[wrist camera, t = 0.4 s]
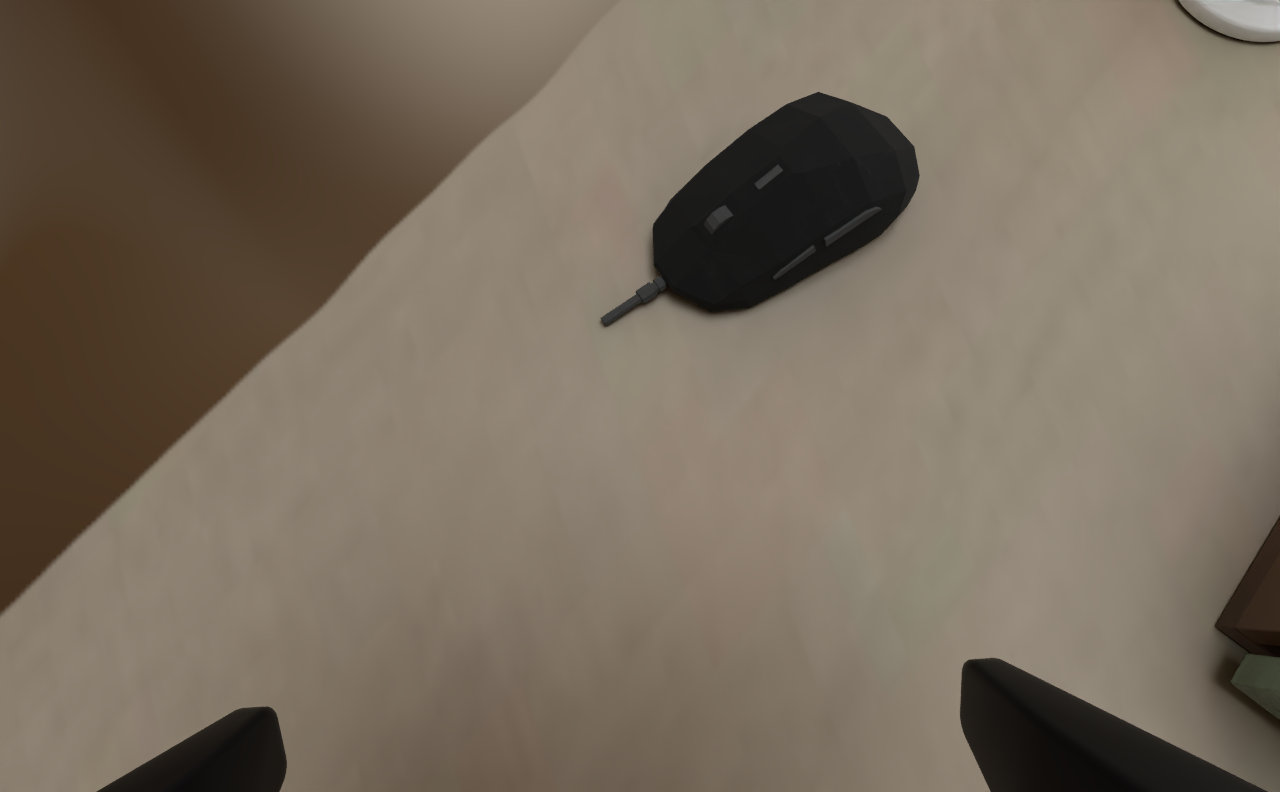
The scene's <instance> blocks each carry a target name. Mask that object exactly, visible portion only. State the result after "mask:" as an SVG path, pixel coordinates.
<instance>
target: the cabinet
mask: <svg viewBox="0 0 1280 792" xmlns="http://www.w3.org/2000/svg"><path fill="white" fill-rule="evenodd" d="M1216 627H1217V628H1218V629H1220V630H1221V631H1223V632H1224V633H1225V634H1227V635H1228V636H1229V637H1231V638H1232V639H1233V640H1235V641H1236V642H1237V643H1239V644H1240V645H1241V646H1243V647H1244V648H1245V649H1247V650H1248V651H1250V652H1251V653H1252V654H1255V655H1263V656H1272V657H1280V519H1279V521H1278V522H1277V524H1276V526H1275V527H1274V529H1273V531H1272V532H1271V534H1270V536H1269V537H1268V539H1267V541H1266V542H1265V544H1264V546H1263V547H1262V549H1261V551H1260V552H1259V554H1258V556H1257V557H1256V559H1255V561H1254V562H1253V564H1252V566H1251V567H1250V569H1249V571H1248V572H1247V574H1246V576H1245V577H1244V579H1243V581H1242V582H1241V584H1240V586H1239V587H1238V589H1237V591H1236V592H1235V594H1234V596H1233V598H1232V599H1231V601H1230V603H1229V604H1228V606H1227V608H1226V609H1225V611H1224V613H1223V614H1222V616H1221V618H1220V619H1219V621H1218V623H1217V624H1216Z"/></svg>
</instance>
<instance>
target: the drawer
mask: <svg viewBox="0 0 1280 792" xmlns="http://www.w3.org/2000/svg"><path fill="white" fill-rule="evenodd" d="M1231 684H1233V685H1234V686H1235V687H1237V688H1238V689H1239V690H1241V691H1242V692H1243V693H1245V694H1246V695H1247V696H1249V697H1250V698H1251V699H1252V700H1254V701H1255V702H1256V703H1258V704H1259V705H1260V706H1262V707H1263V708H1264V709H1266V710H1267V711H1268V712H1270V713H1271V714H1272V715H1274V716H1275V717H1276V718H1278V719H1279V720H1280V657H1272V656H1263V655H1255V654H1246V656H1245V657H1244V659H1243V661H1242V663H1241V664H1240V666H1239V668H1238V669H1237V671H1236V673H1235V675H1234V676H1233V678H1232V680H1231Z"/></svg>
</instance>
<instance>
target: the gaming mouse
mask: <svg viewBox="0 0 1280 792" xmlns="http://www.w3.org/2000/svg"><path fill="white" fill-rule="evenodd" d="M918 180H919V170H918V165H917V159H916V154H915V148H914V146H913V145H912V144H911V143H910V141H909V140H908V139H907V138H906V137H905V136H904V135H903V134H902V133H901V132H900V130H899V129H898V128H897V127H896V126H895V125H894V124H893V123H892V122H891V121H890V119H889V118H888V117H886V116H884V115H881V114H879V113H876V112H874V111H871V110H869V109H866V108H864V107H861V106H859V105H856V104H854V103H851V102H848V101H845V100H842V99H839V98H836V97H833V96H829V95H826V94H823V93H820V92H817V93H814V94H812V95H809V96H806V97H804V98H801V99H799V100H796V101H794V102H791V103H788V104H786V105H785V106H783V107H782V108H780V109H779V110H777V111H776V112H774V113H773V114H771V115H770V116H768V117H767V118H765V119H764V120H762V121H761V122H759V123H758V124H756V125H755V126H753V127H752V128H750V129H749V130H748V131H746V132H745V133H744V134H743V135H741V136H740V137H739V138H738V139H737V140H735V141H734V142H733V143H732V144H731V145H729V146H728V147H727V148H726V149H725V150H723V151H722V152H721V153H720V154H718V155H717V156H716V157H715V158H714V159H712V160H711V161H710V162H709V163H708V164H706V165H705V166H704V167H703V168H702V169H701V170H700V171H699V172H698V173H697V174H696V175H695V176H694V177H693V178H692V179H691V180H690V181H689V182H688V183H687V184H686V185H685V186H684V187H683V188H682V189H681V190H680V191H679V192H678V193H677V194H676V195H675V196H674V197H673V198H672V199H671V200H670V201H669V203H668V205H667V206H666V208H665V209H664V211H663V212H662V213H661V215H660V216H659V217H658V219H657V220H656V221H655V223H654V225H653V251H654V266H655V268H656V269H657V270H658V272H659V273H660V274H661V276H662V277H661V276H659V277H657V278H656V279H654V280H653V283H651V284H650V282H649V283H647V284H646V285H644V286H643V287H641V288H640V289H638V290H637V291H636V295H635V296H633V297H632V298H630V299H629V300H627V301H626V302H624V303H623V304H621V305H620V306H618V307H617V308H615V309H614V310H612V311H611V312H609V313H608V314H606V315H604V316H603V317H601V320H602V321H603V323H604V324H605V326H606V325H608V324H609V323H611V322H612V321H614V320H615V319H617V318H618V317H620V316H621V315H623V314H624V313H626V312H627V311H629V310H630V309H632V308H633V307H635V306H636V305H638V304H639V303H641V302H642V303H644V304H645V303H646V302H648V301H649V300H651V299H652V298H654V297H655V296H657V292H658V291H660V292H661V291H663V290H664V289H666V288H667V285H669V287H670V288H671V289H672V291H674V292H675V293H677V294H679V295H681V296H683V297H685V298H686V299H688V300H690V301H692V302H694V303H696V304H697V305H699V306H701V307H703V308H705V309H707V310H708V311H710V312H714V311H723V310H733V309H742V308H749V307H751V306H753V305H755V304H757V303H759V302H761V301H763V300H765V299H767V298H769V297H771V296H773V295H775V294H777V293H779V292H781V291H783V290H785V289H787V288H788V287H790V286H792V285H794V284H795V283H797V282H799V281H800V280H802V279H804V278H806V277H807V276H809V275H811V274H812V273H814V272H816V271H818V270H819V269H821V268H823V267H825V266H827V265H828V264H830V263H832V262H834V261H836V260H838V259H840V258H842V257H844V256H846V255H848V254H849V253H851V252H853V251H855V250H857V249H858V248H860V247H861V246H863V245H865V244H866V243H868V242H870V241H871V240H873V239H874V238H876V237H878V236H879V235H881V234H882V233H883V232H884V231H885V230H886V229H887V228H888V227H889V226H890V224H891V223H892V222H893V221H894V220H895V219H896V218H897V217H898V216H899V215H900V214H901V212H902V211H903V210H904V209H905V208H906V207H907V205H908V203H909V202H910V200H911V198H912V196H913V195H914V193H915V191H916V188H917V184H918Z"/></svg>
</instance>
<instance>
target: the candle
mask: <svg viewBox="0 0 1280 792" xmlns="http://www.w3.org/2000/svg"><path fill="white" fill-rule="evenodd" d="M1178 1H1179V2H1180V3H1181V5H1182V6H1183V7H1184V8H1185V9H1186V10H1187V11H1188V12H1189V13H1190V14H1191V15H1192V16H1193V17H1195V18H1196V19H1197V20H1198V21H1200V22H1201V23H1203V24H1204V25H1206V26H1208V27H1209V28H1211V29H1213V30H1215V31H1217V32H1219V33H1222V34H1224V35H1227V36H1230V37H1233V38H1237V39H1241V40H1246V41H1254V42H1275V41H1280V0H1178Z"/></svg>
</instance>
